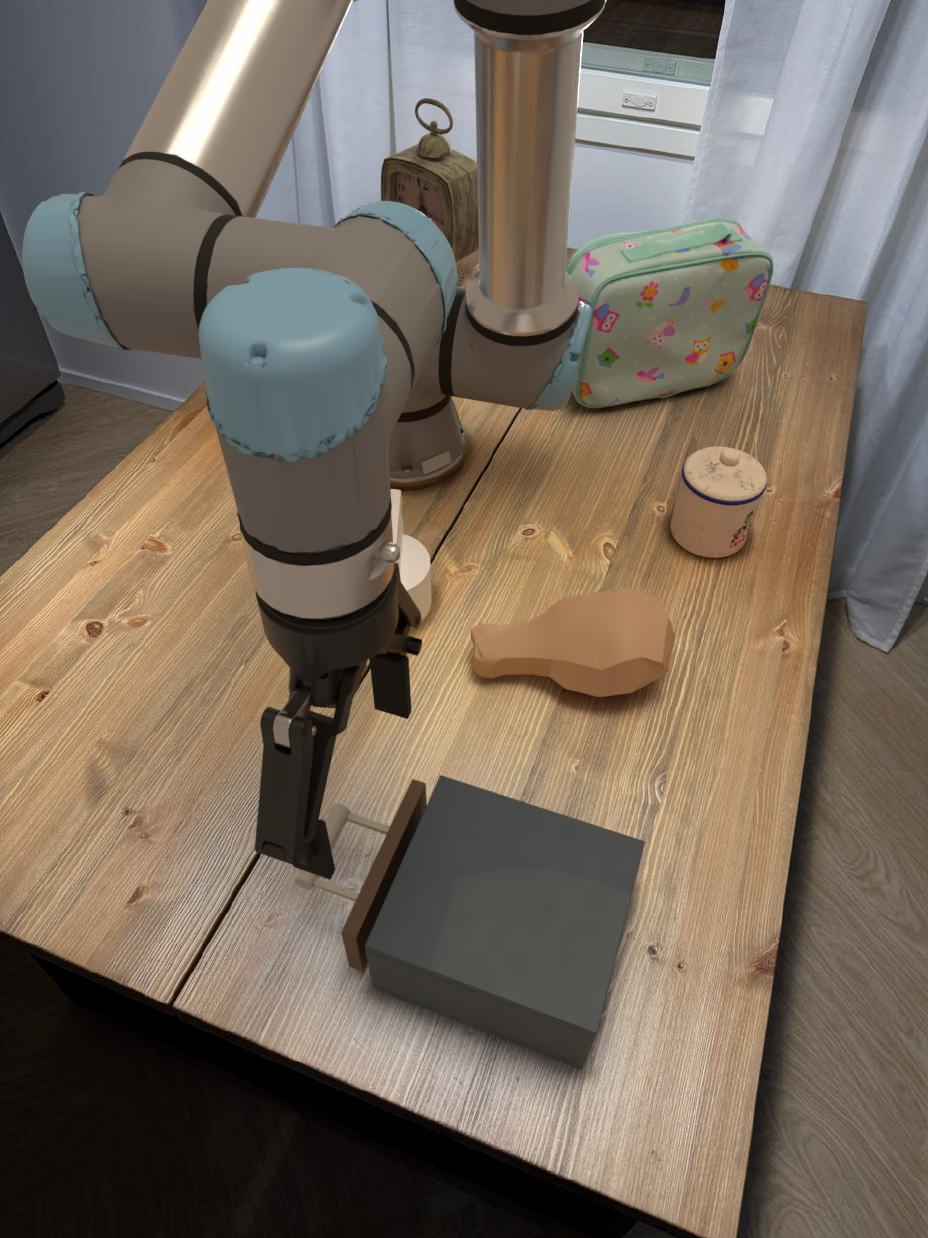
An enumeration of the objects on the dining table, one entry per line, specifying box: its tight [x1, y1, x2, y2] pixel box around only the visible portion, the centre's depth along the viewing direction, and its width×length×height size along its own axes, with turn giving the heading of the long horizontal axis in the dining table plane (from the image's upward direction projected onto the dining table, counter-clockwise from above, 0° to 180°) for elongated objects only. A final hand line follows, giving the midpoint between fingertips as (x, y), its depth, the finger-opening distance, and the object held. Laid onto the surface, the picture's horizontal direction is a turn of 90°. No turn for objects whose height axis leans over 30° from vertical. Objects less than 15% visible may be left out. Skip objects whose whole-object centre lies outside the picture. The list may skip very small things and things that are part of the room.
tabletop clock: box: [380, 97, 479, 263], centre depth 133 cm, size 14×9×25 cm, turn 50°
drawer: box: [294, 778, 428, 973], centre depth 69 cm, size 21×14×7 cm, turn 70°
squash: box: [469, 587, 676, 698], centre depth 87 cm, size 11×20×9 cm, turn 90°
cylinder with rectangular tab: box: [391, 489, 432, 630], centre depth 91 cm, size 9×9×12 cm
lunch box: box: [566, 217, 775, 409], centre depth 114 cm, size 27×10×21 cm, turn 111°
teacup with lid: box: [670, 446, 768, 559], centre depth 99 cm, size 12×9×12 cm
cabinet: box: [365, 774, 646, 1070], centre depth 68 cm, size 17×15×9 cm
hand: (356, 784), depth 63 cm, fingers open, 13 cm apart
